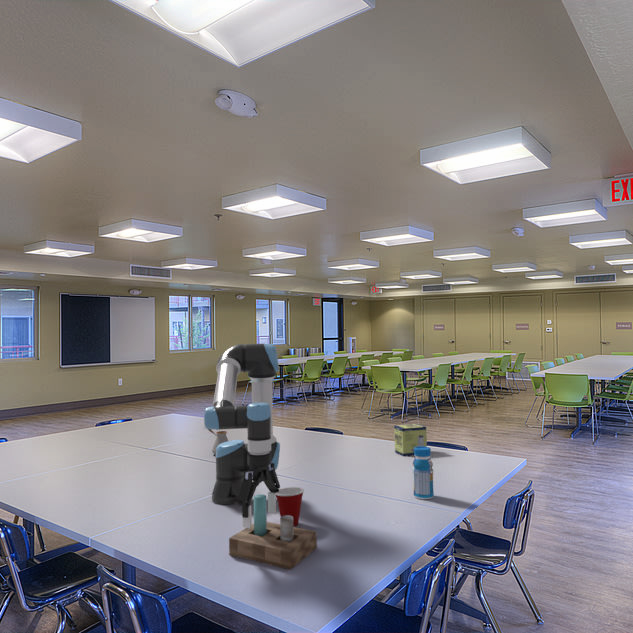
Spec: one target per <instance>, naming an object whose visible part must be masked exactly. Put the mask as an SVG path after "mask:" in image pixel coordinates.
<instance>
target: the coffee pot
mask: <svg viewBox="0 0 633 633" xmlns="http://www.w3.org/2000/svg"><path fill="white" fill-rule="evenodd" d="M204 430H208V431H209V432H210V433H212V434H213V435H214V436H215V440H214V442H213V445H212V448H211V451H212V453H213V454H214V455H215V456H216V448H217V446H218V445H219V444H221V443H224V442H227V441H229V439H228V436H227V433H228V431H227V430H219V431H216V432H214V431H213V429H206V427H204Z"/></svg>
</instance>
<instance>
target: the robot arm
mask: <svg viewBox="0 0 633 633" xmlns="http://www.w3.org/2000/svg"><path fill="white" fill-rule="evenodd" d="M278 358H279V357H278V353H277V347H276V345H275V344H272V343H247V344H245V343H241V344H239V343H238V344H235V345H233V346H230V347H229V348H227V349H226V350H225V351H224V352H223V353H222V354H221V355H220V356H219V358H218V360H217V361H216V368H215V370H216V373H217V376H216V378H217V379H216V383H215V384H216V385H215V390H214V393H213V394H214V396H213V402H212V405H211V406H208V407H207V406H206V408H205V409H204V416H203V417H204V418H203V421H204V424H203V425H204V428H206V429H205V430H208V429H211V430H216V431H218V430H219V431H221V430H233V429H234V430H235V429H236V430H237V429H247V443H245V441H244V440H243V439H233V440H228V441H227V442H224V443H221V444H219V445H218V446H217V448H216V455H215V473H216V474H215V483H214V486H213V490H212V493H211V501H212V502H213V503H215V504H220V505H231V504H232V505H233V504H237V506H239V507H241V510H242V511H241V514H242V515H241V516H242V528H244V529H245V528H249V529H250V528H252V524H253V523H252V505H251V502H252V500H253V499H254V496H255V492H256V490H257V487H258V486H260V484H261V483H262V482H263V483H264V484H265V486H266V488H267V490H268V492H267V513H270V514H277V498H276V492H277V493H278V492H279V489H281V485H280V482H279V478H278V476H277V472H276V470H277V469H278V468H279V467H278V466H279V460H280V450H281V442H278V440H277V437H275V435H274V419H273V418H274V417H273V415H274V414H273V409H274V408H273V406H274V405H273V380H274V378H276V377H277V372H280V366H279V359H278ZM240 373H247V378H249V380H251V403H249V404H247V405H238V406H236V405H235V404H236V395H237V394H236V392H237V382H238V376H239V375H240Z"/></svg>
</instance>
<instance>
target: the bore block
mask: <svg viewBox="0 0 633 633" xmlns="http://www.w3.org/2000/svg"><path fill="white" fill-rule="evenodd" d="M317 535H318V534H317V531H316V530H310V529H305V528H300V527H296V526H294V527H293V516H290V515H285V516H282V517H281V516H280V523H275V522H270V521H267V534H266V535H264V536H263V537H261V536H257V535H254V523H252V528H250V529H249V528H245V527H244V528H243V529H242V530H240V531H238V532H236V533H235V534H233V535H232V536H230V537H229V538H228V544H229V546H228V549H229V551H228V552H229V553H228V555H229V556H234V557H238V558H243V559H245V560H250V561H254V562H258V563H261V564H266V565H270V566H275V567H278V568H281V569H286V570H290V571H291V570H292V569H293V568H295V567H296V566H297V565H298V564H300V562H302V561H303V560H304V559H305V558H307V557H308V556H309V555H310V554H311V553H313V552H314V551H315V550H316V549H317V548H318V544H317V542H318V539H317V537H318V536H317Z"/></svg>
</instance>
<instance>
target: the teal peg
mask: <svg viewBox="0 0 633 633" xmlns="http://www.w3.org/2000/svg"><path fill="white" fill-rule="evenodd" d="M267 516H268V515H267V495H266V494H256V495H255V494H254V495H253V524H254V535H257V536H261V537H263V536H264V535H266V534H267V522H268V521H267V519H268V518H267Z"/></svg>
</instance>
